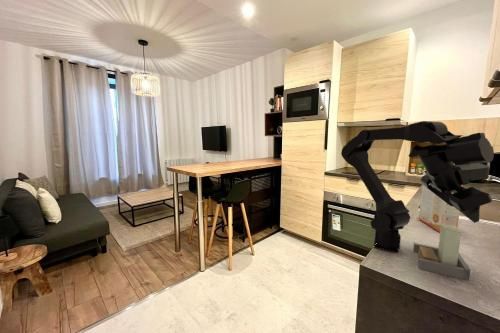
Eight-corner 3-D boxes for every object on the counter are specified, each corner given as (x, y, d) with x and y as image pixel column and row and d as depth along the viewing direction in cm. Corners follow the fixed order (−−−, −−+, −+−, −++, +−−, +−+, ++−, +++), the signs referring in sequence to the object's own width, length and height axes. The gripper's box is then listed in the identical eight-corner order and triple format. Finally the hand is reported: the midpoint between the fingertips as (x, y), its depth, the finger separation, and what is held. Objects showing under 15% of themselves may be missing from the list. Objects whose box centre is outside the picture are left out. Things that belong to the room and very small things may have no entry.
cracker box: (458, 234, 78) (465, 179, 76) (439, 233, 80) (446, 178, 77) (433, 220, 92) (439, 173, 89) (418, 219, 93) (423, 173, 91)
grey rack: (418, 268, 58) (419, 257, 58) (413, 250, 67) (414, 241, 67) (468, 280, 53) (470, 269, 52) (455, 259, 62) (456, 250, 62)
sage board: (441, 268, 58) (445, 230, 56) (437, 259, 62) (441, 224, 61) (456, 272, 56) (461, 233, 55) (450, 262, 60) (455, 226, 59)
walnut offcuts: (422, 267, 59) (423, 257, 58) (417, 254, 65) (418, 245, 65) (438, 271, 57) (439, 261, 57) (432, 258, 64) (433, 248, 63)
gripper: (506, 159, 45) (535, 218, 46) (450, 144, 62) (473, 188, 64) (447, 183, 49) (476, 236, 50) (410, 162, 66) (432, 203, 68)
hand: (463, 213), depth 58 cm, fingers open, 9 cm apart
